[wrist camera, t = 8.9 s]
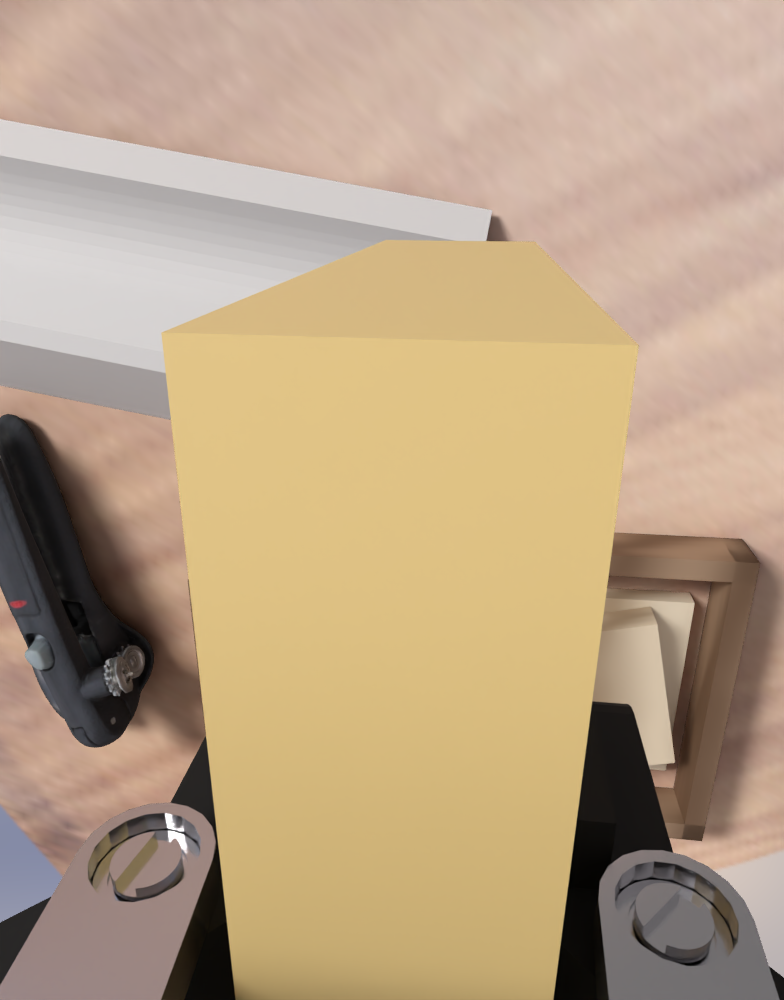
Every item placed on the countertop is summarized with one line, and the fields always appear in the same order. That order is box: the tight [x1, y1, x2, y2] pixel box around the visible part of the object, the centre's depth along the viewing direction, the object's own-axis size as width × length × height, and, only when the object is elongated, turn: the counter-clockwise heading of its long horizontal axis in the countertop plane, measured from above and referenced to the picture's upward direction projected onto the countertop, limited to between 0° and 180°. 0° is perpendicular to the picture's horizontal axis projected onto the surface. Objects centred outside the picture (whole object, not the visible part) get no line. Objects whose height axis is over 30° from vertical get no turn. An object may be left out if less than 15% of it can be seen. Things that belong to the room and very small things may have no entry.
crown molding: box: [0, 119, 492, 420], centre depth 33 cm, size 31×12×4 cm, turn 80°
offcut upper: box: [592, 607, 675, 765], centre depth 37 cm, size 6×8×2 cm
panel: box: [161, 240, 639, 1000], centre depth 10 cm, size 2×12×9 cm, turn 179°
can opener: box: [0, 414, 154, 747], centre depth 37 cm, size 18×7×6 cm, turn 12°
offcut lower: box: [604, 588, 695, 771], centre depth 38 cm, size 8×10×2 cm
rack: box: [188, 533, 760, 841], centre depth 36 cm, size 24×16×7 cm, turn 90°
